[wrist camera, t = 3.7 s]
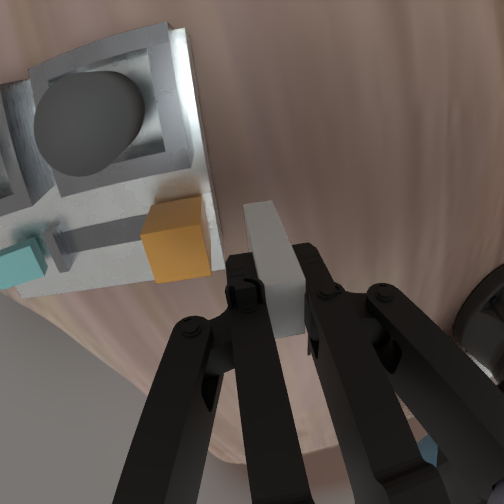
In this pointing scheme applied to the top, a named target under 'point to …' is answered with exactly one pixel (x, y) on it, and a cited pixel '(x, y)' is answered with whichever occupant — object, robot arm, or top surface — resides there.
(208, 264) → the slider knob
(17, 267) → the teal rectangular block
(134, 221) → the panel
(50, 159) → the button
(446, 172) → the top surface
